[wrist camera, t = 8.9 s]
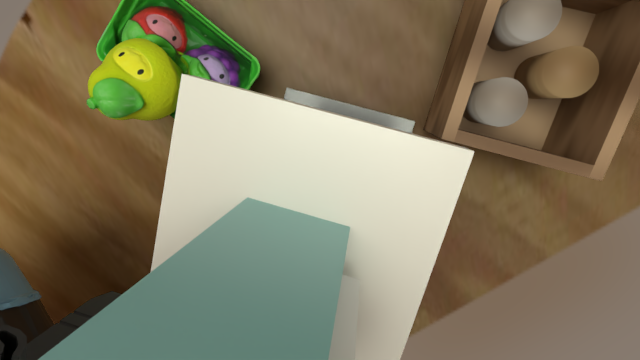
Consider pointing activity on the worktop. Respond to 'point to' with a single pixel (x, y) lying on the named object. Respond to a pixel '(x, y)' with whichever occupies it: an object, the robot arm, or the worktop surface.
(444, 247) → the worktop surface
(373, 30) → the worktop surface
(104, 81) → the fruit basket
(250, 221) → the lid
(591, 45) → the box
